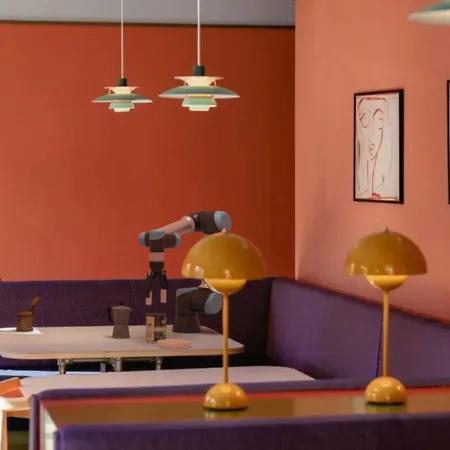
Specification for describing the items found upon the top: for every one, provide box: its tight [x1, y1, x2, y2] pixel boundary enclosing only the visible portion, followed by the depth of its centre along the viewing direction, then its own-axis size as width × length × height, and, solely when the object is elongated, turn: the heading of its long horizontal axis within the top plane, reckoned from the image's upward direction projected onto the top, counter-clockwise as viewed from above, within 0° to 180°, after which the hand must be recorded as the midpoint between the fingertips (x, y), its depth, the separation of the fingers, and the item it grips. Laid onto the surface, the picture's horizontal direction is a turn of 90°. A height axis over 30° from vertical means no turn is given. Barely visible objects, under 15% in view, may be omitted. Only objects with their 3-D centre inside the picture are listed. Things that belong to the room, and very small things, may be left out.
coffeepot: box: [106, 301, 133, 340], centre depth 611 cm, size 15×9×18 cm, turn 61°
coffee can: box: [145, 312, 167, 344], centre depth 597 cm, size 10×10×14 cm
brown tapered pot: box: [15, 295, 40, 333], centre depth 634 cm, size 9×14×18 cm, turn 134°
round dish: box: [156, 338, 192, 350], centre depth 581 cm, size 16×16×2 cm
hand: (156, 303), depth 596 cm, fingers open, 13 cm apart
